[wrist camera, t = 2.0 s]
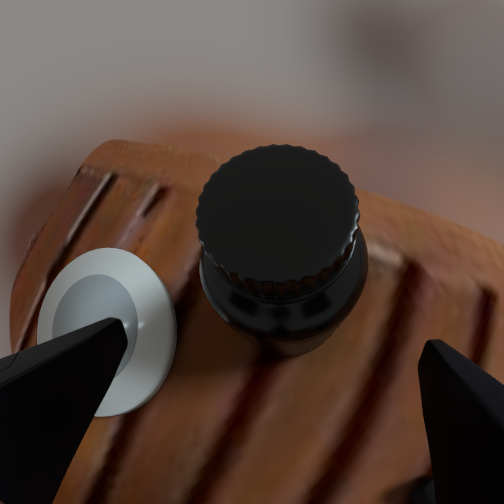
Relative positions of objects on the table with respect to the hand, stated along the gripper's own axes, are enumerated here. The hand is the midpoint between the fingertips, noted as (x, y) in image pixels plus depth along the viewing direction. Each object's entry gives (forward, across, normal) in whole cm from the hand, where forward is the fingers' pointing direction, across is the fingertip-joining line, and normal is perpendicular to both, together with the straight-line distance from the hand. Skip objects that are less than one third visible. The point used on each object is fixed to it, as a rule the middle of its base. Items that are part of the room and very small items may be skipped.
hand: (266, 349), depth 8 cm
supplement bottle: (+10, 0, +5) cm, 12 cm away
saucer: (+8, +14, +7) cm, 17 cm away
